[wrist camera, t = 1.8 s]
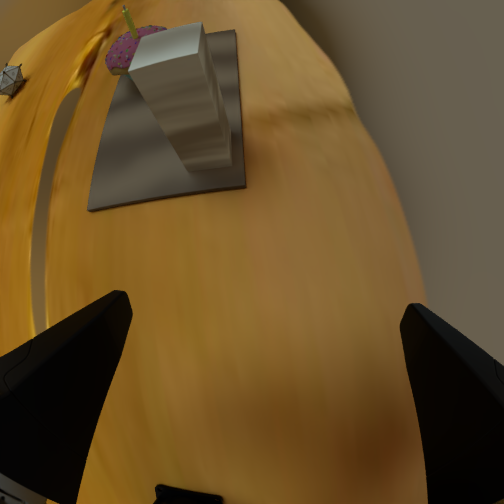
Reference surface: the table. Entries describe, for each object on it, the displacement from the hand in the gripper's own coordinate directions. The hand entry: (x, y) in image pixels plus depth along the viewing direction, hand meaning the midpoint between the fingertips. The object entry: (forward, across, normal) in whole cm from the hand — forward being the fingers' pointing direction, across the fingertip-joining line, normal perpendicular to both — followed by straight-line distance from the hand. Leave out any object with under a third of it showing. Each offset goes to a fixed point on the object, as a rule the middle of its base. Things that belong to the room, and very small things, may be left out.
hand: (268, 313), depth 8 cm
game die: (+39, +57, -20) cm, 72 cm away
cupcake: (+28, +15, -12) cm, 34 cm away
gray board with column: (+25, +12, -8) cm, 29 cm away
